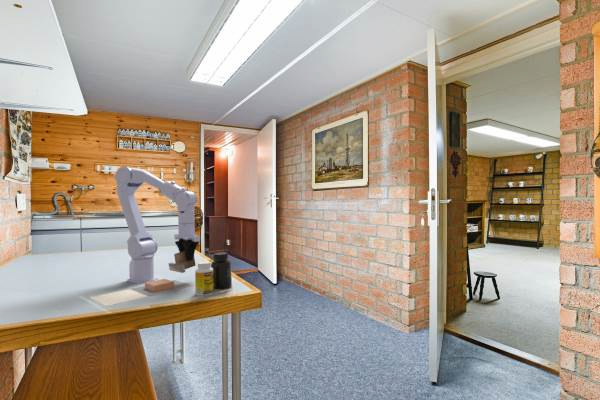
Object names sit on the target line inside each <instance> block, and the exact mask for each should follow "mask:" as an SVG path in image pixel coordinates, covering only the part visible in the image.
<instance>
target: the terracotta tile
mask: <svg viewBox="0 0 600 400" xmlns="http://www.w3.org/2000/svg"><path fill="white" fill-rule="evenodd" d="M144 286H145V289H147V290H150V291H153V292H156V291H161V290H165V289H170V288H174V281H172V280H170V279H166V278H163V279H162V278H161V279H158V280H153V281H148V282H144Z"/></svg>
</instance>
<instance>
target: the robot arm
mask: <svg viewBox="0 0 600 400" xmlns="http://www.w3.org/2000/svg"><path fill="white" fill-rule="evenodd" d="M114 179H115V182H116V193H117V194H116V195H117V197H118V200H119V203H120V207H121V209H122V213H123V215H124V219H125V222H126V225H127V228H128V230H129V233H130V237H128V238H127V240H126V243H127V253H128V255H129V257H131V258H130V259H131V260H130V261H129V266H128V267H129V272H128V274H129V278H127V279H126V281H127V282H131V283H135V284H141V283H142V284H143V283H146V282H151V281H156V280H159V278H157V277H155V271H154V268H155V267H154V263H155V262H154V257H155V254H156V253H157V251H158V247H159V245H158V243H157V241H156V240H155V239H154V237H153V235H152V234H151V233H150V232H149V231H147V229H146V226H145V223H144V220H143V217H142V214H141V211H140V208H139V205H138V202H137V199H136V197H135V193H136V191H137V190H138V189H140V187H142V185H143V184H144V183H146V184H148V185H150V186H152V187H153V188H156V189H157V190H159V191H160V194H161V195H163V196H164V197H166V198H168V199H169V200H172V201H173V202H174V203H175V205H176V206H177V215H178V216H177V220H178V222H177V223H178V233H176V234H175V233H174V240H175V241H174V243H175V245H176V247H177V249H178V253H179V252H182V251H185V253H186V260H187V261H190V260H193V257H194V258H195V252H196V249H197V247H198V245H199V242H200V241H201V235H197V234H195V233H196V232H195V231H196V230H195V227H196V225H195V223H196V221H195V217H196V215H195V205H196V204H197V202H198V196H197V194H196V193H195V192H194V191H193V190H187V188H186V187H185V186H184V187H183V186H182V187H181V186H180V185H178V184H176V181H173V180H171V181H169V180H168V181H164V180H162V179H160V178H159V177H157V176H155V175H154V174H153V173H150V172H149V171H147V170H145V169H143V168H137V167H130V166H129V167H128V166H123V165H122V166H120V167H119V168H118V169H117V170H116V171H115V174H114ZM176 240H177V241H176Z"/></svg>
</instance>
